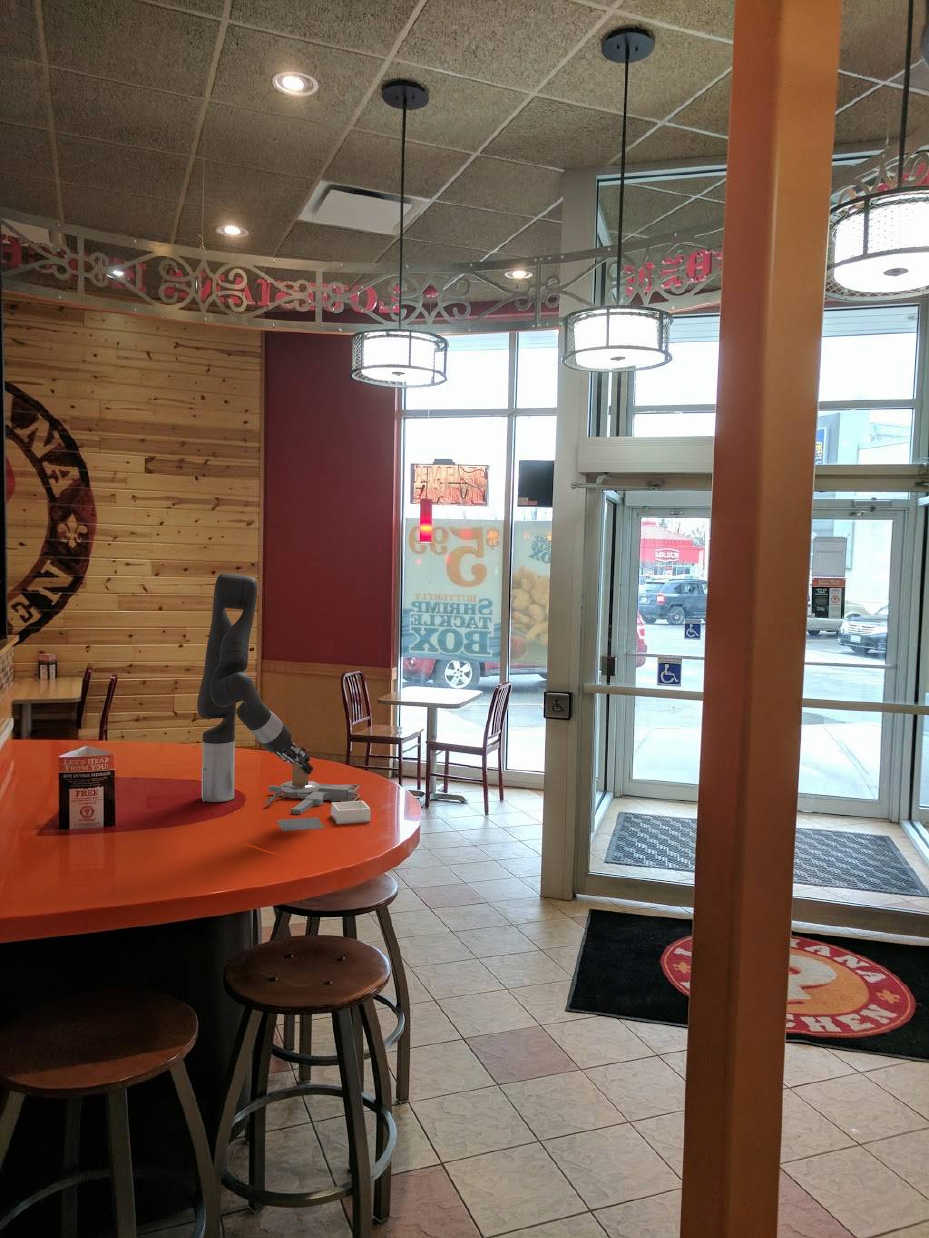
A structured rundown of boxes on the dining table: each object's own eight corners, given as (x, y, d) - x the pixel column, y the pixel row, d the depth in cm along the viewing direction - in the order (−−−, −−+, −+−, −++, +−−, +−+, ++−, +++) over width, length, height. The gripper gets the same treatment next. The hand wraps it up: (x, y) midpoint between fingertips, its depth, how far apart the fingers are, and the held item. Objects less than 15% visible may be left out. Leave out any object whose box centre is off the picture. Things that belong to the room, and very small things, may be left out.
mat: (282, 832, 233) (282, 831, 233) (276, 821, 243) (276, 819, 243) (324, 829, 236) (324, 828, 236) (317, 818, 247) (317, 817, 247)
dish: (337, 825, 240) (337, 810, 240) (331, 816, 249) (331, 802, 249) (370, 823, 243) (370, 808, 243) (362, 814, 252) (363, 800, 252)
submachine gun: (332, 807, 247) (362, 782, 272) (238, 800, 253) (275, 776, 278) (332, 823, 248) (362, 797, 272) (239, 816, 254) (276, 791, 278)
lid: (296, 795, 232) (297, 760, 232) (273, 788, 239) (273, 754, 238) (326, 788, 240) (327, 755, 239) (303, 782, 246) (303, 749, 246)
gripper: (295, 723, 228) (331, 763, 238) (262, 716, 237) (298, 755, 247) (278, 746, 224) (315, 786, 234) (244, 738, 234) (282, 777, 243)
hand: (306, 770), depth 241 cm, fingers closed on lid, 3 cm apart
